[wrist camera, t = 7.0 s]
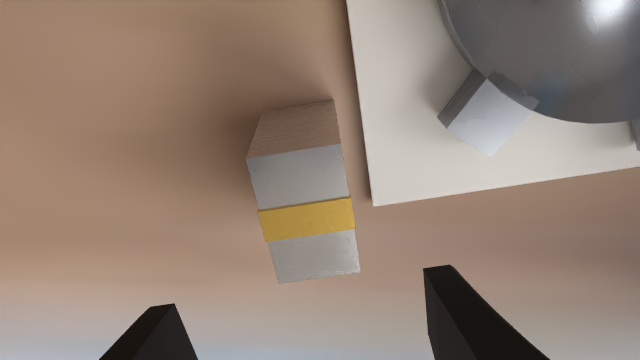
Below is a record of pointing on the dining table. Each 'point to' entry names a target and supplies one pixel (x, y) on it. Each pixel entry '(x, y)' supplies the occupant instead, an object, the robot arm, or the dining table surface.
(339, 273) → the yellow banded block
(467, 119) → the sprocket
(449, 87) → the base plate
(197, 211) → the dining table surface
